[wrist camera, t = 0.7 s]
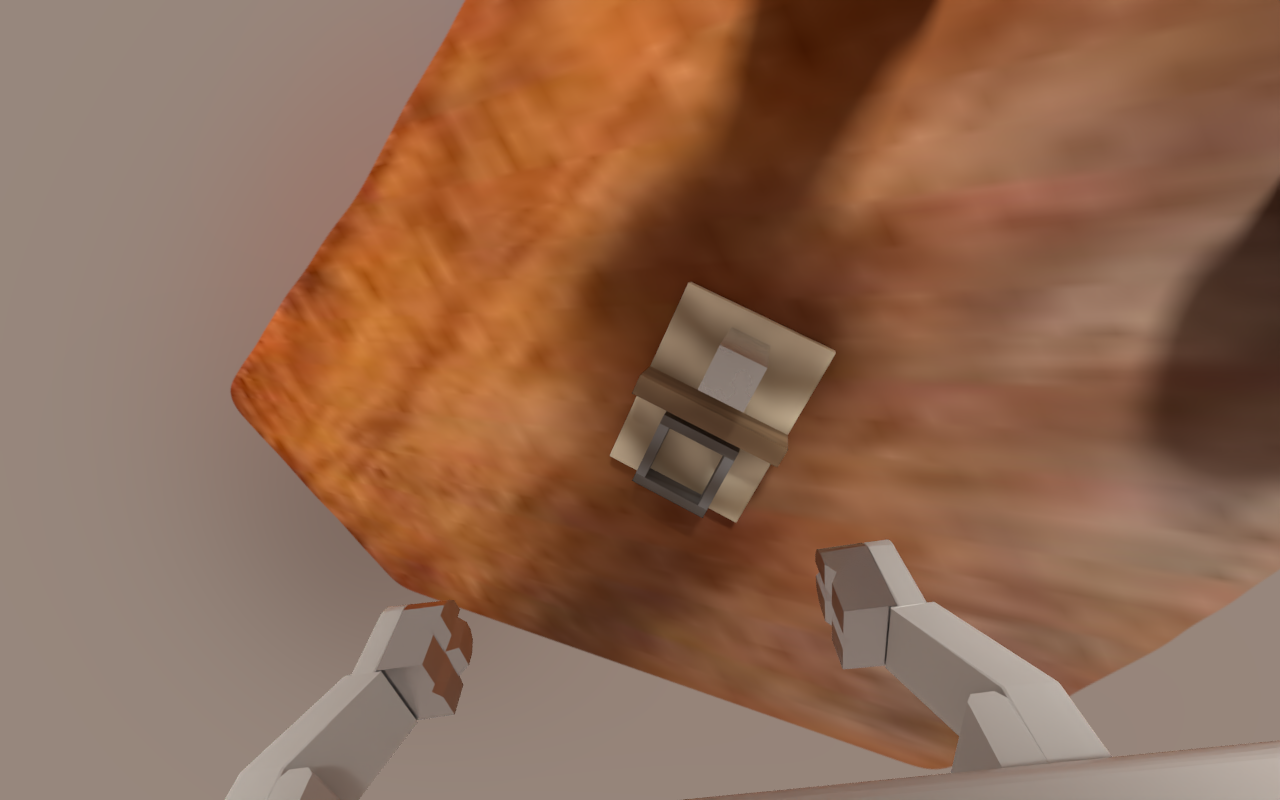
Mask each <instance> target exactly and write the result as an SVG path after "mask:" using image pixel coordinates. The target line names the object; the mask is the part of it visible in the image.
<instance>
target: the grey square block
mask: <svg viewBox="0 0 1280 800" xmlns="http://www.w3.org/2000/svg"><path fill="white" fill-rule="evenodd" d="M769 353H770V345H768V344H766V343H763V342H761V341H759V340H757V339H755V338H753V337H751V336H749V335H747V334H745V333H743V332H741V331H739V330H736V329H734V328H732V327H731V329H730V330H729V332H728V333H727V335H726V336H725V338H724V339H723V341H722V342H721V344H720V346H719V348H718V350H717V352H716V354H715V356H714V358H713V360H712V362H711V364H710V366H709V368H708V370H707V372H706V374H705V376H704V378H703V380H702V382H701V384H700V386H699V388H698V390H699V391H701V392H703V393H705V394H707V395H709V396H711V397H713V398H715V399H717V400H719V401H721V402H723V403H725V404H727V405H729V406H731V407H733V408H735V409H737V410H739V411H741V412H744V410H745V409H746V407H747V405H748V403H749V401H750V399H751V397H752V396H753V394H754V392H755V390H756V388H757V386H758V385H759V383H760V381H761V379H762V377H763V375H764V374H765V372H766V370H767V368H768V360H769Z"/></svg>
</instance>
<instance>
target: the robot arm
mask: <svg viewBox="0 0 1280 800" xmlns="http://www.w3.org/2000/svg"><path fill="white" fill-rule="evenodd" d="M815 562H816V565H817V567H818V570H819V573H818V574H817V575H816V588H817V593H818V599H819V603H820V607H821V610H822V613H823V616H824V619H825V621H826V622H827V623H829V624H830V625H831V626H832V641H833V644H834V646H835V649H836V652H837V655H838V657H839V660H840V663H841V665H842V668H843V669H851V668H863V667H874V666H885V665H886V668H887V669H888V670H889V671H890V672H891V673H892V674H893V675H894V676H895V677H896V678H897V679H898V680H899V681H900V682H902V683H903V684H904V685H905V686H906V687H907V688H908V689H909V690H910V691H911V692H912V693H913V694H914V695H916V696H917V697H918V698H919V699H920V700H921V701H922V702H923V703H924V704H925V705H926V706H927V707H928V708H929V709H931V710H932V711H933V712H934V713H935V714H936V715H937V716H938V717H939V718H940V719H941V720H942V721H943V722H944V723H946V724H947V725H948V726H949V727H950V728H951V729H952V730H953V731H954V732H955V733H956V734H957V735H958V736H959V740H958V745H957V749H956V753H955V757H954V762H953V766H952V770H951V773H948V774H938V775H928V776H918V777H908V778H898V779H888V780H879V781H868V782H858V783H849V784H838V785H828V786H817V787H808V788H798V789H787V790H777V791H767V792H757V793H746V794H737V795H727V796H716V797H706V798H696V799H685V800H1280V741H1270V742H1260V743H1250V744H1240V745H1230V746H1220V747H1210V748H1199V749H1189V750H1179V751H1169V752H1159V753H1149V754H1139V755H1129V756H1120V757H1112V756H1111V755H1110V753H1109V752H1108V750H1107V749H1106V748H1105V746H1104V745H1103V744H1102V742H1101V741H1100V739H1099V738H1098V736H1097V735H1096V734H1095V732H1094V731H1093V729H1092V728H1091V727H1090V725H1089V724H1088V723H1087V721H1086V720H1085V719H1084V717H1083V715H1082V714H1081V713H1080V711H1079V710H1078V708H1077V707H1076V706H1075V704H1074V703H1073V701H1072V700H1071V699H1070V697H1069V696H1068V694H1067V693H1066V692H1065V690H1064V689H1063V687H1062V686H1061V685H1060V683H1059V682H1057V681H1056V680H1054V679H1053V678H1051V677H1050V676H1048V675H1047V674H1045V673H1044V672H1042V671H1040V670H1039V669H1037V668H1036V667H1034V666H1033V665H1031V664H1030V663H1028V662H1027V661H1025V660H1023V659H1022V658H1020V657H1019V656H1017V655H1016V654H1014V653H1013V652H1011V651H1009V650H1008V649H1006V648H1005V647H1003V646H1002V645H1000V644H999V643H997V642H996V641H994V640H992V639H991V638H989V637H988V636H986V635H985V634H983V633H982V632H980V631H979V630H977V629H975V628H974V627H972V626H971V625H969V624H968V623H966V622H965V621H963V620H962V619H960V618H958V617H957V616H955V615H954V614H952V613H951V612H949V611H948V610H946V609H945V608H943V607H941V606H940V605H938V604H937V603H935V602H928V603H927V602H926V600H925V599H924V597H923V595H922V593H921V592H920V590H919V588H918V587H917V585H916V583H915V581H914V580H913V578H912V576H911V574H910V573H909V571H908V569H907V567H906V566H905V564H904V562H903V560H902V559H901V557H900V555H899V554H898V552H897V550H896V548H895V547H894V545H893V543H892V542H891V541H889V540H880V541H873V542H866V543H857V544H850V545H843V546H837V547H830V548H823V549H817V550H816V553H815ZM459 611H460V609H459V607H458V606H457V604H456V602H455V601H454V600H446V601H436V602H427V603H419V604H409V605H403V606H393V607H387V608H386V609H385V610H384V611H383V612H382V613H381V615H380V617H379V619H378V621H377V623H376V625H375V627H374V630H373V632H372V634H371V636H370V638H369V640H368V642H367V644H366V646H365V648H364V650H363V652H362V654H361V656H360V658H359V660H358V662H357V664H356V666H355V669H354V671H353V673H352V675H347V676H344V677H343V678H342V679H341V680H340V681H339V682H338V683H337V684H336V685H335V686H334V687H332V688H331V689H330V690H329V691H328V692H327V693H326V694H325V695H324V696H323V697H322V698H321V699H320V700H318V701H317V702H316V703H315V704H314V705H313V706H312V707H311V708H310V709H309V710H308V711H306V712H305V713H304V714H303V715H302V716H301V717H300V718H299V719H298V720H297V721H296V722H295V723H294V724H292V725H291V726H290V727H289V728H288V729H287V730H286V731H285V732H284V733H283V734H282V735H280V736H279V737H278V738H277V739H276V740H275V741H274V742H273V743H272V744H271V745H270V746H269V747H268V748H266V749H265V750H264V751H263V752H262V753H261V754H260V755H259V756H258V757H257V758H256V759H254V760H253V761H252V762H251V763H250V764H249V765H248V766H247V767H246V768H245V769H244V770H243V771H241V773H240V774H239V776H238V777H237V779H236V781H235V783H234V784H233V786H232V788H231V790H230V791H229V793H228V795H227V796H226V798H225V800H359V799H360V797H361V796H362V795H363V793H364V792H365V791H366V790H367V788H368V787H369V786H370V784H371V783H372V782H373V780H374V779H375V778H376V776H377V775H378V774H379V772H380V771H381V770H382V768H383V767H384V766H385V764H386V763H387V762H388V761H389V759H390V758H391V757H392V755H393V754H394V753H395V751H396V750H397V749H398V748H399V746H400V745H401V744H402V742H403V741H404V740H405V738H406V737H407V736H408V734H409V733H410V732H411V730H412V729H413V728H414V727H415V725H416V724H417V720H421V719H428V718H434V717H441V716H448V715H454V714H455V711H456V708H457V704H458V701H459V697H460V694H461V690H462V687H463V683H462V681H461V678H460V674H461V673H462V672H463V671H464V670H465V669H466V668H467V666H468V665H469V662H470V659H471V655H472V642H473V639H472V634H471V630H470V628H469V626H468V624H467V622H465V621H463V620H462V619H460V618H458V614H459Z"/></svg>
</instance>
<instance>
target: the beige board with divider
mask: <svg viewBox="0 0 1280 800" xmlns="http://www.w3.org/2000/svg"><path fill="white" fill-rule="evenodd" d="M731 327H732V328H734V329H736V330H739V331H741V332H743V333H745V334H747V335H749V336H751V337H753V338H755V339H757V340H759V341H761V342H763V343H766V344H768V345H770V353H769V360H768V368H767V370H766V372H765V374H764V375H763V377H762V379H761V381H760V383H759V385H758V386H757V388H756V390H755V392H754V394H753V396H752V397H751V399H750V401H749V403H748V405H747V407H746V409H745V410H744V412H741V411H739V410H737V409H735V408H733V407H731V406H729V405H727V404H725V403H723V402H721V401H719V400H717V399H715V398H713V397H711V396H709V395H707V394H705V393H703V392H701V391H699V390H698V388H699V386H700V384H701V382H702V380H703V378H704V376H705V374H706V372H707V370H708V368H709V366H710V364H711V362H712V360H713V358H714V356H715V354H716V352H717V350H718V348H719V346H720V344H721V342H722V341H723V339H724V338H725V336H726V335H727V333H728V332H729V330H730V329H731ZM835 354H836V352H835V350H833V349H831V348H829V347H827V346H825V345H823V344H821V343H819V342H817V341H814V340H812V339H810V338H808V337H806V336H804V335H802V334H800V333H798V332H796V331H794V330H791V329H789V328H787V327H785V326H783V325H781V324H779V323H777V322H775V321H773V320H770V319H768V318H766V317H764V316H762V315H760V314H758V313H756V312H754V311H752V310H749V309H747V308H745V307H743V306H741V305H739V304H737V303H735V302H733V301H731V300H728V299H726V298H724V297H722V296H720V295H718V294H716V293H714V292H712V291H710V290H707V289H705V288H703V287H701V286H699V285H697V284H695V283H693V282H688V284H687V287H686V289H685V291H684V293H683V295H682V298H681V300H680V302H679V304H678V306H677V309H676V311H675V313H674V315H673V317H672V320H671V322H670V324H669V326H668V328H667V331H666V333H665V335H664V337H663V339H662V342H661V344H660V346H659V348H658V350H657V353H656V355H655V357H654V359H653V361H652V364H651V366H650V367H649V368H648V369H647V370H645V371H644V372H643V373H642V374H641V375H640V377H639V379H638V381H637V383H636V386H635V388H634V390H633V392H632V394H634V395H636V396H637V397H636V399H635V401H634V403H633V405H632V407H631V410H630V412H629V414H628V416H627V418H626V421H625V423H624V425H623V427H622V429H621V432H620V434H619V436H618V438H617V440H616V443H615V445H614V447H613V449H612V451H611V454H610V456H611V457H612V458H614V459H616V460H618V461H620V462H622V463H624V464H626V465H628V466H629V467H631V468H633V469H635V470H637V472H636V474H635V476H634V478H633V480H632V481H634V482H636V483H637V484H639V485H641V486H643V487H645V488H647V489H649V490H651V491H653V492H654V493H656V494H658V495H660V496H662V497H664V498H666V499H668V500H670V501H671V502H673V503H675V504H677V505H679V506H681V507H683V508H685V509H686V510H688V511H690V512H692V513H694V514H696V515H698V516H700V517H702V518H703V516H704V515H705V513H706V511H707V509H708V508H709V509H711V510H713V511H715V512H717V513H719V514H721V515H722V516H724V517H726V518H728V519H730V520H732V521H734V522H737V520H738V519H739V517H740V515H741V514H742V512H743V510H744V509H745V507H746V505H747V503H748V502H749V500H750V498H751V497H752V495H753V493H754V492H755V490H756V488H757V486H758V485H759V483H760V481H761V480H762V478H763V476H764V475H765V473H766V471H767V469H768V468H769V466H770V464H772V465H774V466H775V467H778V466H779V464H780V462H781V461H782V459H783V457H784V456H785V454H786V452H787V451H788V434H789V432H790V430H791V429H792V427H793V425H794V424H795V422H796V420H797V418H798V417H799V415H800V413H801V412H802V410H803V408H804V407H805V405H806V403H807V401H808V400H809V398H810V396H811V395H812V393H813V391H814V390H815V388H816V386H817V384H818V383H819V381H820V379H821V378H822V376H823V374H824V373H825V371H826V369H827V367H828V366H829V364H830V362H831V361H832V359H833V357H834V356H835Z"/></svg>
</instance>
